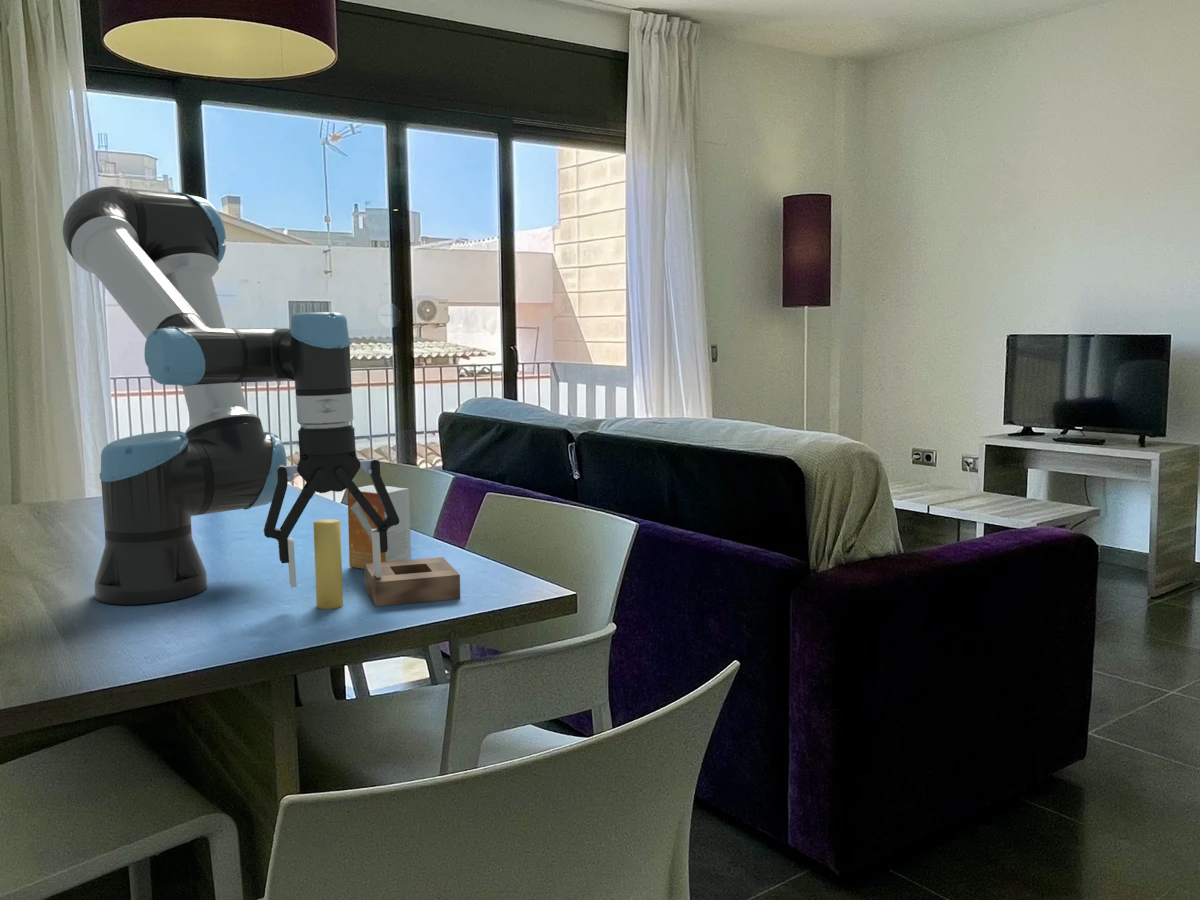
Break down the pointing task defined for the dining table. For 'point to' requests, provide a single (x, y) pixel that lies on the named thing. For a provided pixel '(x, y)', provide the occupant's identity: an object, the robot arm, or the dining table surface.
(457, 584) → the socket block
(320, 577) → the peg
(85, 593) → the dining table surface
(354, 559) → the small box
